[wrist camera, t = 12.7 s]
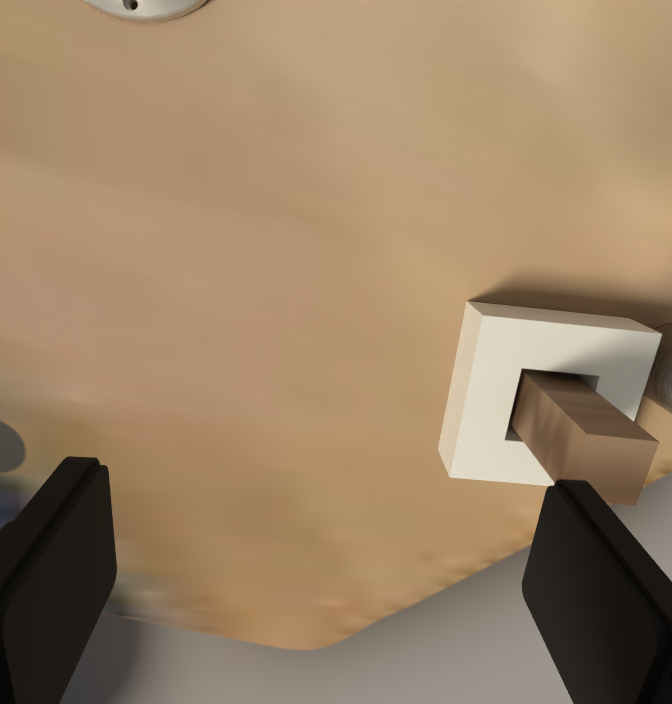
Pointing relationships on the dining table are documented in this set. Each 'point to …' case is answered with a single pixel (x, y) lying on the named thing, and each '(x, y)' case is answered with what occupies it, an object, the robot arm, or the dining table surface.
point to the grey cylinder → (661, 371)
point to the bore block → (540, 354)
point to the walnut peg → (581, 435)
